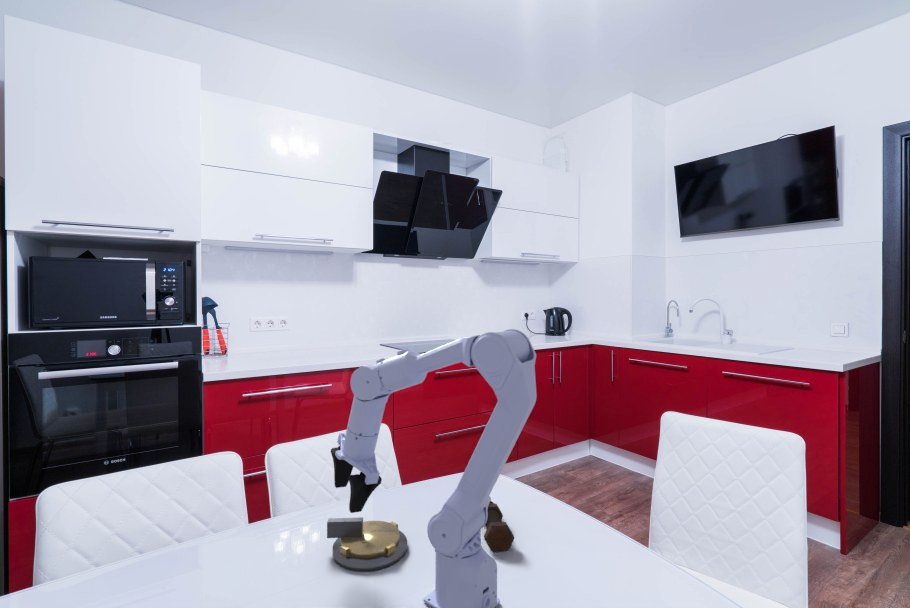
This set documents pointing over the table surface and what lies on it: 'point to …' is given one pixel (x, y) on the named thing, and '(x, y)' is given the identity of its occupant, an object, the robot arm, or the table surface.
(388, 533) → the tabbed brass dial
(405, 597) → the table surface
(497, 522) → the bolt
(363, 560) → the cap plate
